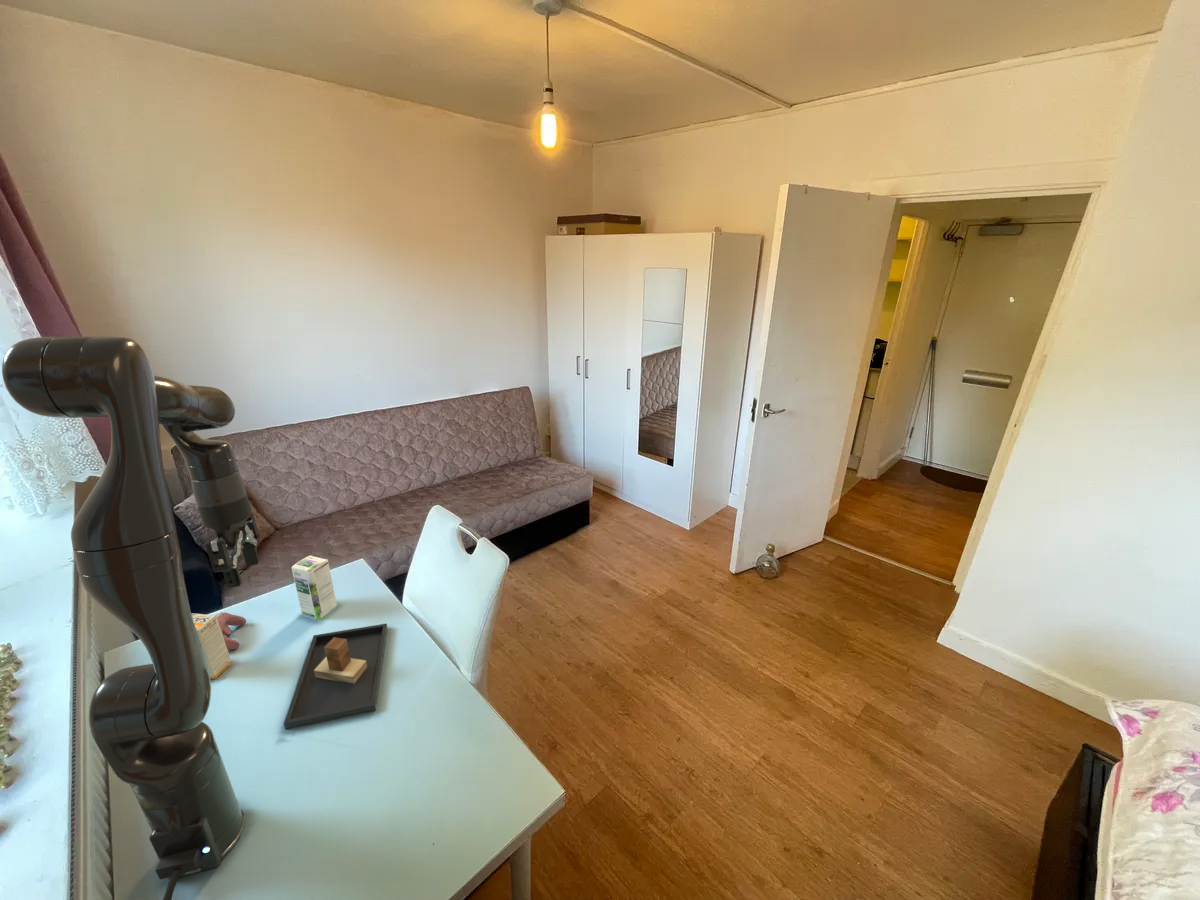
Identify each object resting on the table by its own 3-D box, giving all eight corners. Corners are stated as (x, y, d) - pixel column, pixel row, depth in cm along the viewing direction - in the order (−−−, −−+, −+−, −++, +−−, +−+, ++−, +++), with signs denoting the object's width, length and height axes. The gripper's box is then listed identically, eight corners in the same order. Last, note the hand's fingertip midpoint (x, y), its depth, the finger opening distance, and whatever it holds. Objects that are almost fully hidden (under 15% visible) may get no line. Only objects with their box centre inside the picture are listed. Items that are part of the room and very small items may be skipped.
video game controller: (230, 630, 117) (207, 613, 113) (248, 619, 118) (226, 601, 114) (221, 660, 108) (195, 642, 105) (240, 647, 109) (216, 629, 106)
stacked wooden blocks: (367, 667, 105) (362, 638, 102) (354, 684, 101) (348, 654, 98) (329, 661, 106) (323, 632, 104) (315, 677, 102) (308, 647, 99)
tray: (376, 712, 96) (374, 705, 95) (286, 731, 91) (283, 723, 91) (388, 630, 117) (386, 623, 116) (315, 642, 112) (313, 635, 111)
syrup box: (301, 616, 120) (289, 567, 115) (320, 601, 125) (309, 553, 120) (319, 621, 118) (308, 572, 113) (338, 606, 124) (328, 558, 118)
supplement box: (233, 662, 106) (218, 614, 101) (215, 680, 102) (198, 630, 97) (198, 658, 107) (181, 610, 102) (178, 676, 102) (159, 626, 97)
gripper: (227, 508, 84) (251, 590, 89) (259, 482, 98) (279, 554, 102) (177, 515, 83) (204, 598, 87) (216, 487, 96) (238, 560, 100)
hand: (244, 574), depth 95 cm, fingers open, 8 cm apart
